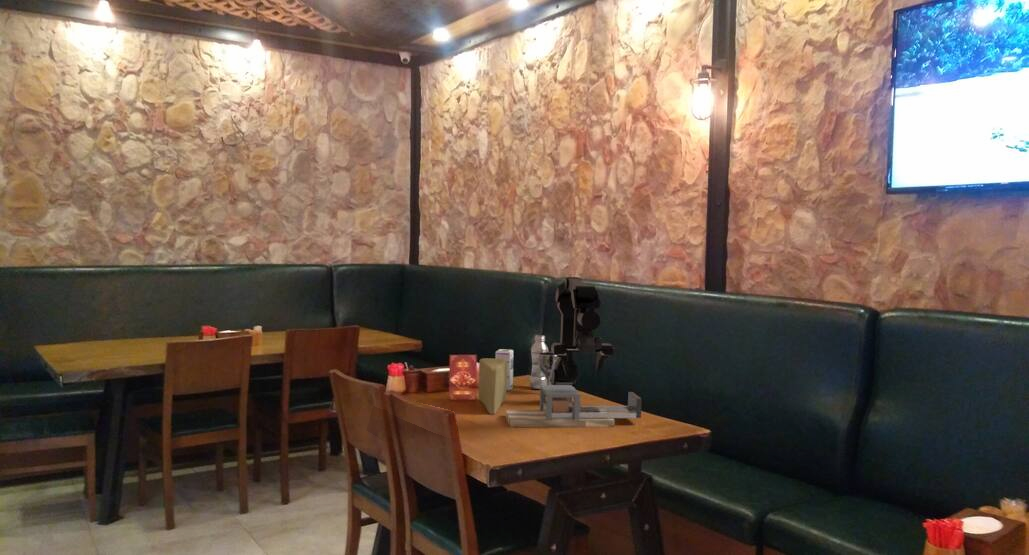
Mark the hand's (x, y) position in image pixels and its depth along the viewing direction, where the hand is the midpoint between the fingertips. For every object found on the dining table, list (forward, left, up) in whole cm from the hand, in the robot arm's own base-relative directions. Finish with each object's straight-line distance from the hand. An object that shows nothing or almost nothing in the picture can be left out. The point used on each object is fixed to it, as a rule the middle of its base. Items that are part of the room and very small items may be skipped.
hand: (581, 376), depth 244 cm
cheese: (-23, -25, -15) cm, 37 cm away
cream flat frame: (-3, -6, -15) cm, 16 cm away
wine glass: (-43, -3, -15) cm, 46 cm away
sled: (-3, +4, -12) cm, 13 cm away
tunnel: (-3, -6, -13) cm, 15 cm away
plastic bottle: (-53, -5, -15) cm, 56 cm away
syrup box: (-53, -18, -15) cm, 58 cm away
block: (-3, -6, -13) cm, 14 cm away
